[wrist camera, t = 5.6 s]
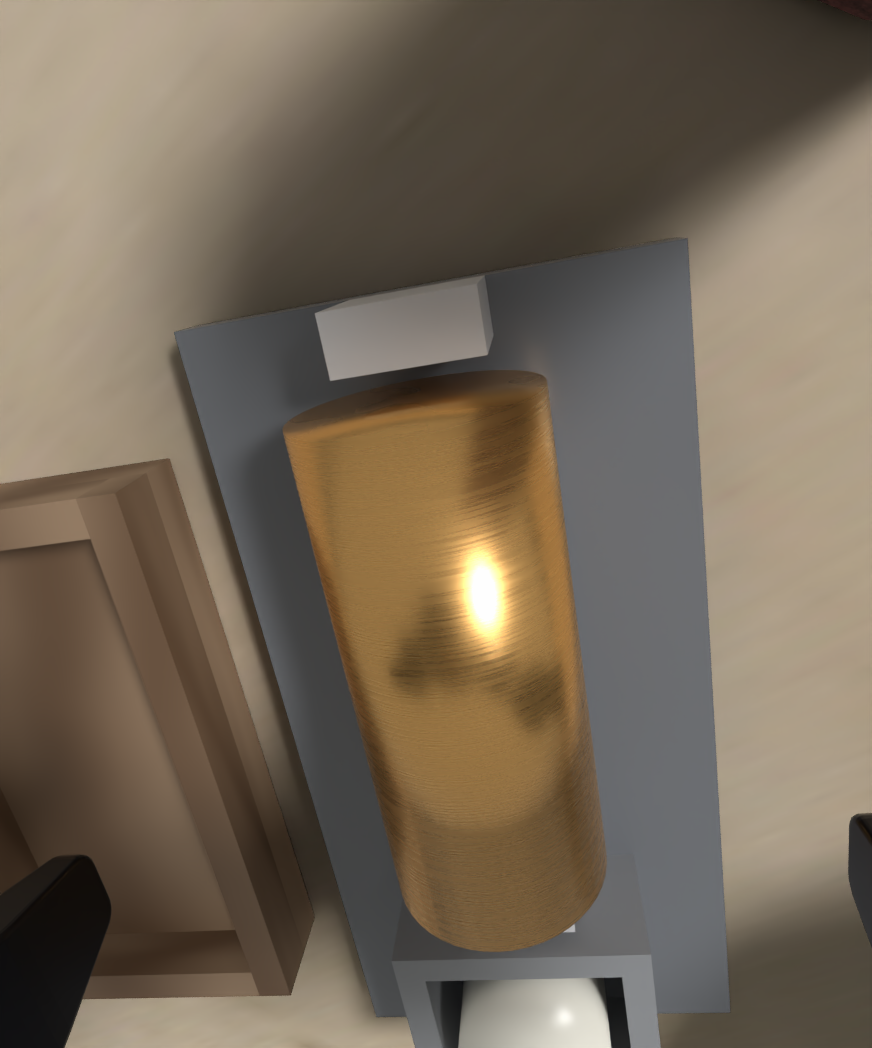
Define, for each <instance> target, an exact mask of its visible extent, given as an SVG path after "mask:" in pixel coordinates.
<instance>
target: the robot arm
mask: <svg viewBox="0 0 872 1048" xmlns="http://www.w3.org/2000/svg"><path fill="white" fill-rule="evenodd" d="M848 875H849V882H850V887H851V891H852V894H853V897H854V900H855V903H856V906H857V909H858V911H859V914H860V917H861V919H862V922H863V925H864V928H865V930H866V933H867V936H868V939H869V941H870V944H871V947H872V813H864V814H856V815H854V816H853V817H852V818H851V821H850V824H849V860H848ZM110 918H111V901H110V898H109V896H108V893H107V891H106V889H105V887H104V884H103V882H102V880H101V878H100V875H99V873H98V871H97V868H96V866H95V864H94V862H93V860H92V859H91V858H90V857H89V856H87V855H84V854H76V855H60V856H56V857H54V858H52V859H50V860H49V861H47V862H46V863H44V864H43V865H41V866H40V867H39V868H37V869H36V870H34V871H33V872H32V873H30V874H29V875H27V876H26V877H25V878H23V879H22V880H20V881H19V882H17V883H16V884H15V885H13V886H12V887H10V888H9V889H8V890H6V891H5V892H3V893H2V894H1V895H0V1048H65V1045H66V1043H67V1040H68V1037H69V1035H70V1032H71V1030H72V1027H73V1024H74V1021H75V1018H76V1016H77V1013H78V1010H79V1007H80V1004H81V1002H82V999H83V996H84V993H85V990H86V988H87V985H88V982H89V979H90V976H91V974H92V971H93V968H94V965H95V962H96V960H97V957H98V954H99V951H100V948H101V946H102V943H103V940H104V937H105V934H106V932H107V929H108V926H109V923H110Z"/></svg>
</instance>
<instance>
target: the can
mask: <svg viewBox="0 0 872 1048" xmlns="http://www.w3.org/2000/svg"><path fill="white" fill-rule="evenodd" d="M819 1H821V2H823V3H826V4H828V5H830V6H833V7H835V8H838V9H840V10H842V11H845V12H847V13H849V14H852V15H854V16H857V17H859V18H861V19H864V20H872V0H819Z"/></svg>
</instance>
